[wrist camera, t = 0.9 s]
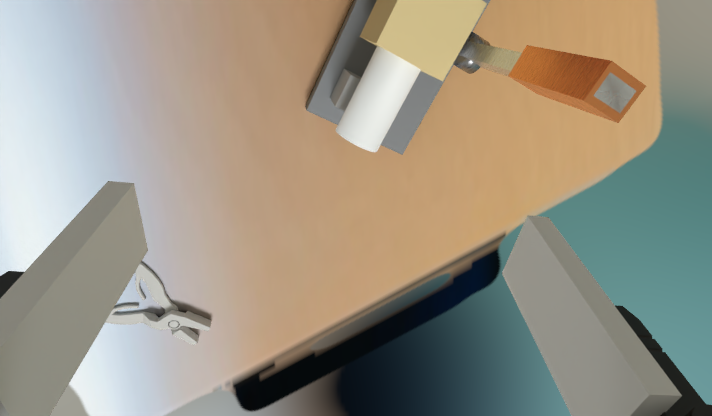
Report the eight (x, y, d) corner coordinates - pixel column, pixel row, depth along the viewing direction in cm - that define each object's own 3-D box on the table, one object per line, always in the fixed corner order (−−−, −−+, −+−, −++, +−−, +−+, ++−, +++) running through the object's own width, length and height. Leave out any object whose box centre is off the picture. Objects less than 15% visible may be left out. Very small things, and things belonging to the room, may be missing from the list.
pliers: (100, 247, 41) (227, 310, 48) (105, 239, 42) (228, 301, 49) (52, 311, 43) (179, 362, 50) (58, 301, 45) (182, 353, 51)
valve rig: (398, 150, 44) (430, 187, 35) (305, 106, 40) (315, 137, 31) (518, -63, 36) (596, -82, 28) (419, -143, 32) (474, -194, 24)
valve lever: (465, 73, 36) (613, 130, 20) (442, 59, 35) (578, 108, 19) (483, 42, 35) (651, 78, 19) (460, 27, 34) (617, 52, 18)
